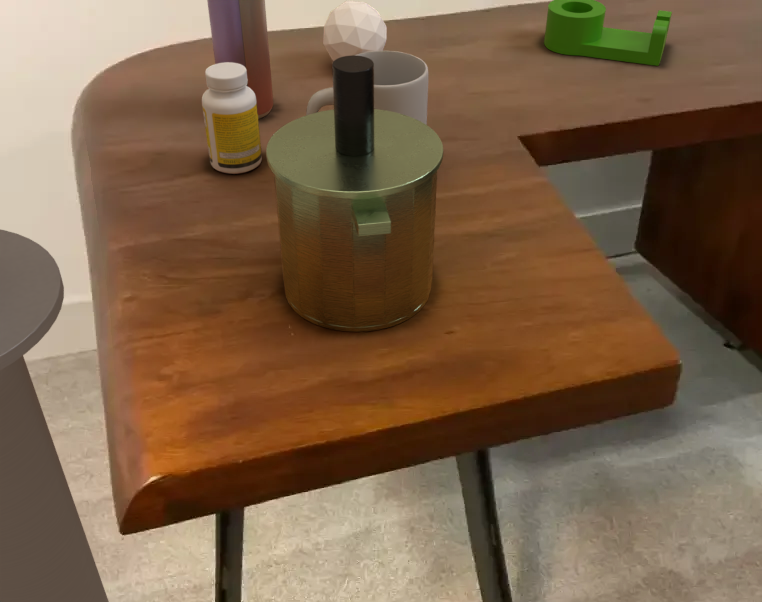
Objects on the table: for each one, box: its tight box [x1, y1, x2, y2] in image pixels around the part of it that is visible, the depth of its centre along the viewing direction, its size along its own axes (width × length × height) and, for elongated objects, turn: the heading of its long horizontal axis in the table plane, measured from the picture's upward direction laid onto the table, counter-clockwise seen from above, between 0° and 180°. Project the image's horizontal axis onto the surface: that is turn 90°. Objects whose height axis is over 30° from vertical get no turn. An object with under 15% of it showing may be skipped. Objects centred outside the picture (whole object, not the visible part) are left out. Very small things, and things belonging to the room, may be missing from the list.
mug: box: [305, 50, 429, 125], centre depth 90 cm, size 12×8×11 cm
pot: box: [273, 171, 438, 333], centre depth 75 cm, size 13×18×12 cm
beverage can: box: [206, 0, 274, 120], centre depth 99 cm, size 6×6×15 cm
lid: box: [265, 55, 444, 199], centre depth 69 cm, size 14×14×8 cm
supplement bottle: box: [201, 62, 263, 175], centre depth 92 cm, size 5×5×10 cm
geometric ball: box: [322, 0, 388, 62], centre depth 111 cm, size 8×8×8 cm
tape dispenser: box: [543, 0, 673, 67], centre depth 116 cm, size 15×7×5 cm, turn 71°
